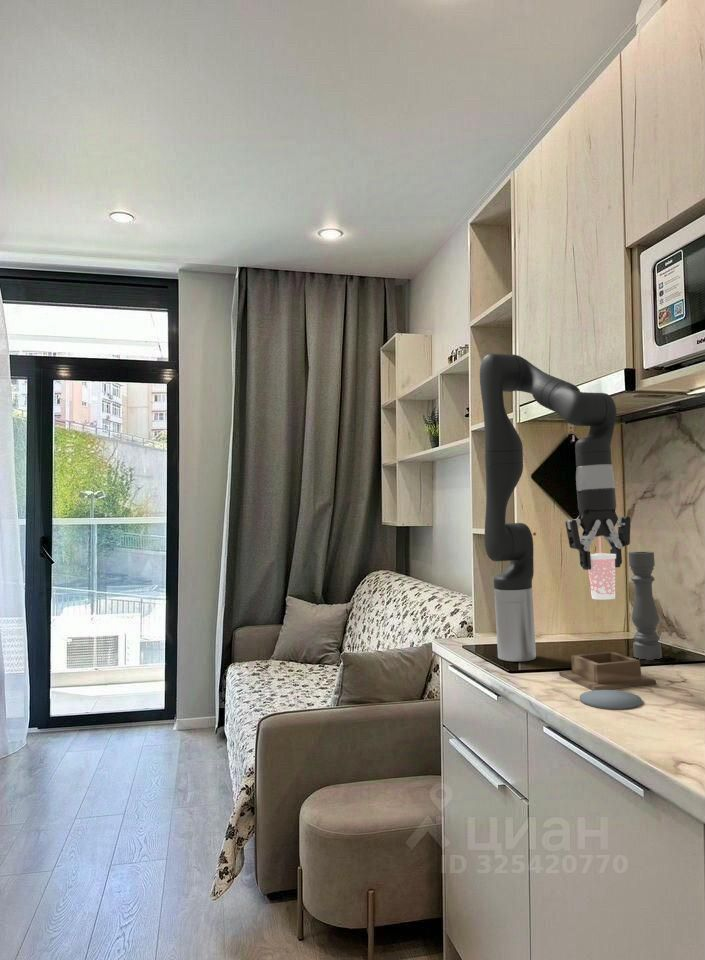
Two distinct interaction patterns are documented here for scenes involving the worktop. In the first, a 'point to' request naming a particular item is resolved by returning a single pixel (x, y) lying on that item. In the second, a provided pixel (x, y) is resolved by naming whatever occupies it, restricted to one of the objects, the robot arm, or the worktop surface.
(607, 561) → the beverage cup
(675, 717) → the worktop surface
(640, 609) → the candle holder
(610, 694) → the slate coaster
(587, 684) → the stepped square tray
